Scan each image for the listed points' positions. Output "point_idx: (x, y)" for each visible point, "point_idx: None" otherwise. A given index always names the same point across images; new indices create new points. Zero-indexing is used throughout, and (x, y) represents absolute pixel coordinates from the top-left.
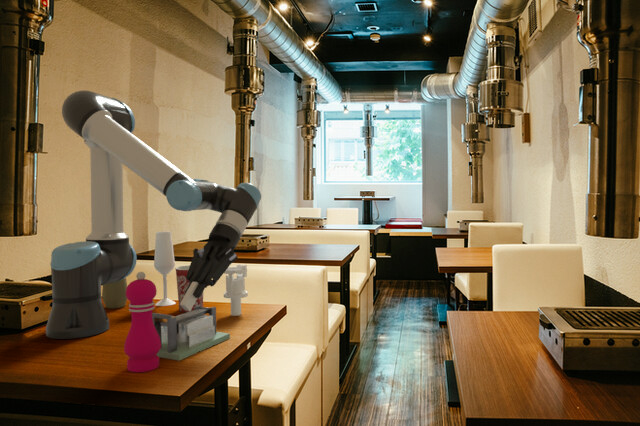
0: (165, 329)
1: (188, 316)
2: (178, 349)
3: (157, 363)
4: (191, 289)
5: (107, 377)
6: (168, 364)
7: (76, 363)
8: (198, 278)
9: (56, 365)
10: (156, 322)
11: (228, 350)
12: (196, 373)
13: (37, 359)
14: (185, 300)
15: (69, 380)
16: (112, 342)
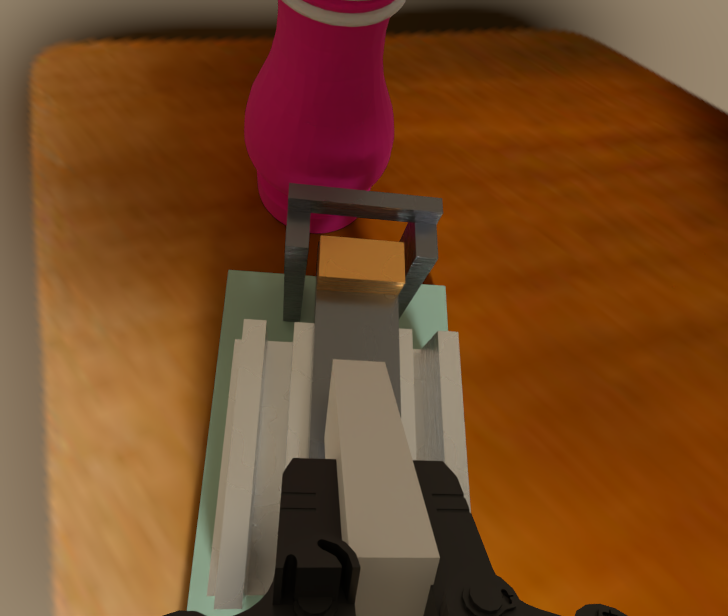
0: (423, 361)
1: (313, 411)
2: (283, 330)
3: (259, 187)
4: (365, 464)
5: None
6: (244, 235)
7: (553, 158)
8: (331, 564)
9: (586, 131)
10: (406, 241)
11: (69, 490)
12: (69, 191)
13: (689, 153)
14: (350, 382)
15: (435, 60)
16: (679, 373)
